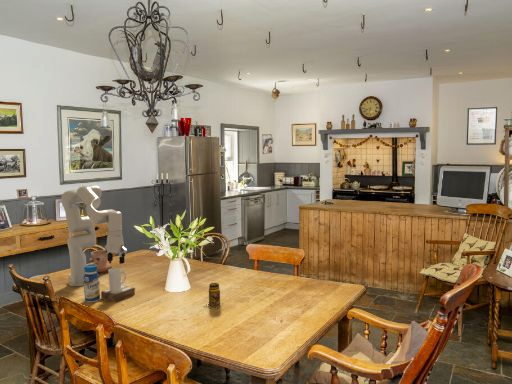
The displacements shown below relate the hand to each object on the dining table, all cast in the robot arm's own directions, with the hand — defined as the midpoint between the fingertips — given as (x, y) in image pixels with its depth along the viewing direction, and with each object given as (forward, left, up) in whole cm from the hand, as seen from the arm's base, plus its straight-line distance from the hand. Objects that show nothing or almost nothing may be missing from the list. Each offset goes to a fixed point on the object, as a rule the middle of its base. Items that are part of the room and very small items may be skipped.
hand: (116, 262), depth 246 cm
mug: (+1, 0, -16) cm, 16 cm away
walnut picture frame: (+1, 0, -20) cm, 20 cm away
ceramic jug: (-50, +31, -21) cm, 63 cm away
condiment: (+58, +15, -21) cm, 63 cm away
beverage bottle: (-7, -12, -21) cm, 25 cm away
